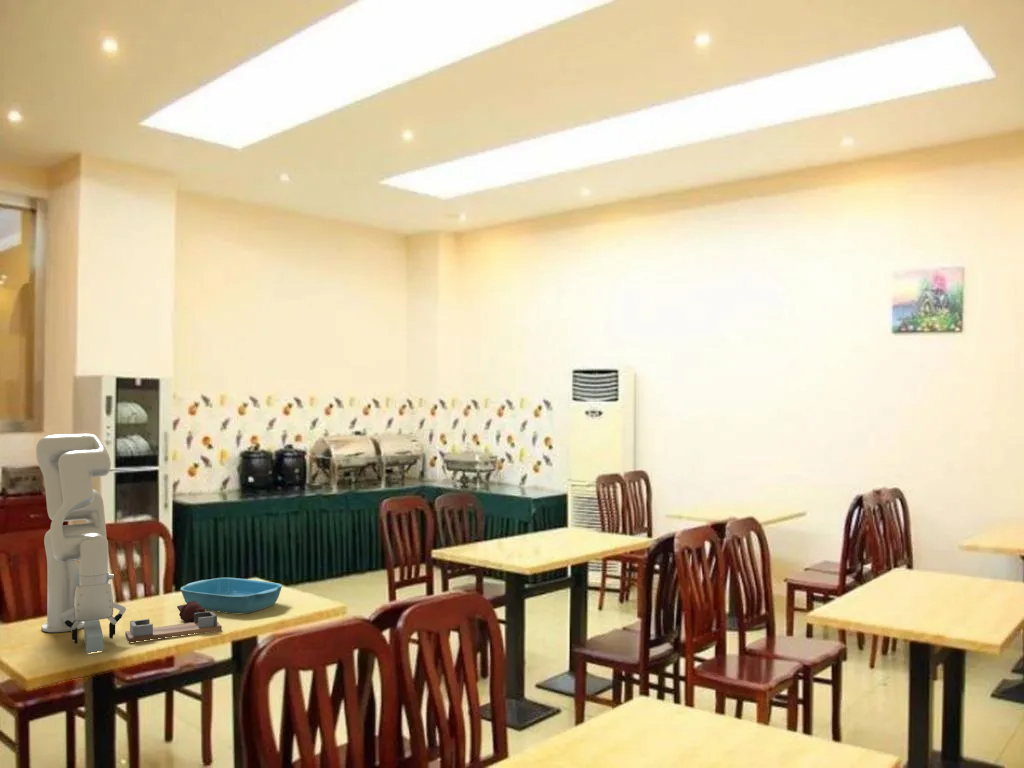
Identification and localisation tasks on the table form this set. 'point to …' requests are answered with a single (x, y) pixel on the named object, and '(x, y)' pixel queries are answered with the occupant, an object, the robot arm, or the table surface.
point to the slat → (93, 636)
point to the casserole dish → (232, 594)
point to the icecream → (189, 611)
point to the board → (173, 631)
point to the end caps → (146, 628)
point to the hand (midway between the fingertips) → (93, 639)
